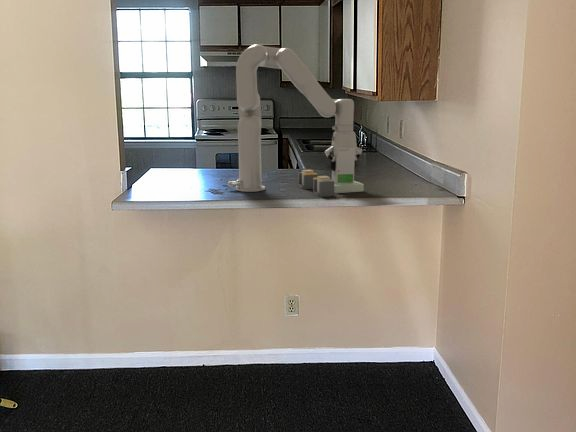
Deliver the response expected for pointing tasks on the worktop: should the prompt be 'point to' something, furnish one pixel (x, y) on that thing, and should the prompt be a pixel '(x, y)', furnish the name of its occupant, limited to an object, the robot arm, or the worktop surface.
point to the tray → (348, 187)
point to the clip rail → (311, 183)
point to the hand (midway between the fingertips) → (343, 169)
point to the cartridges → (319, 178)
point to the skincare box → (344, 166)
